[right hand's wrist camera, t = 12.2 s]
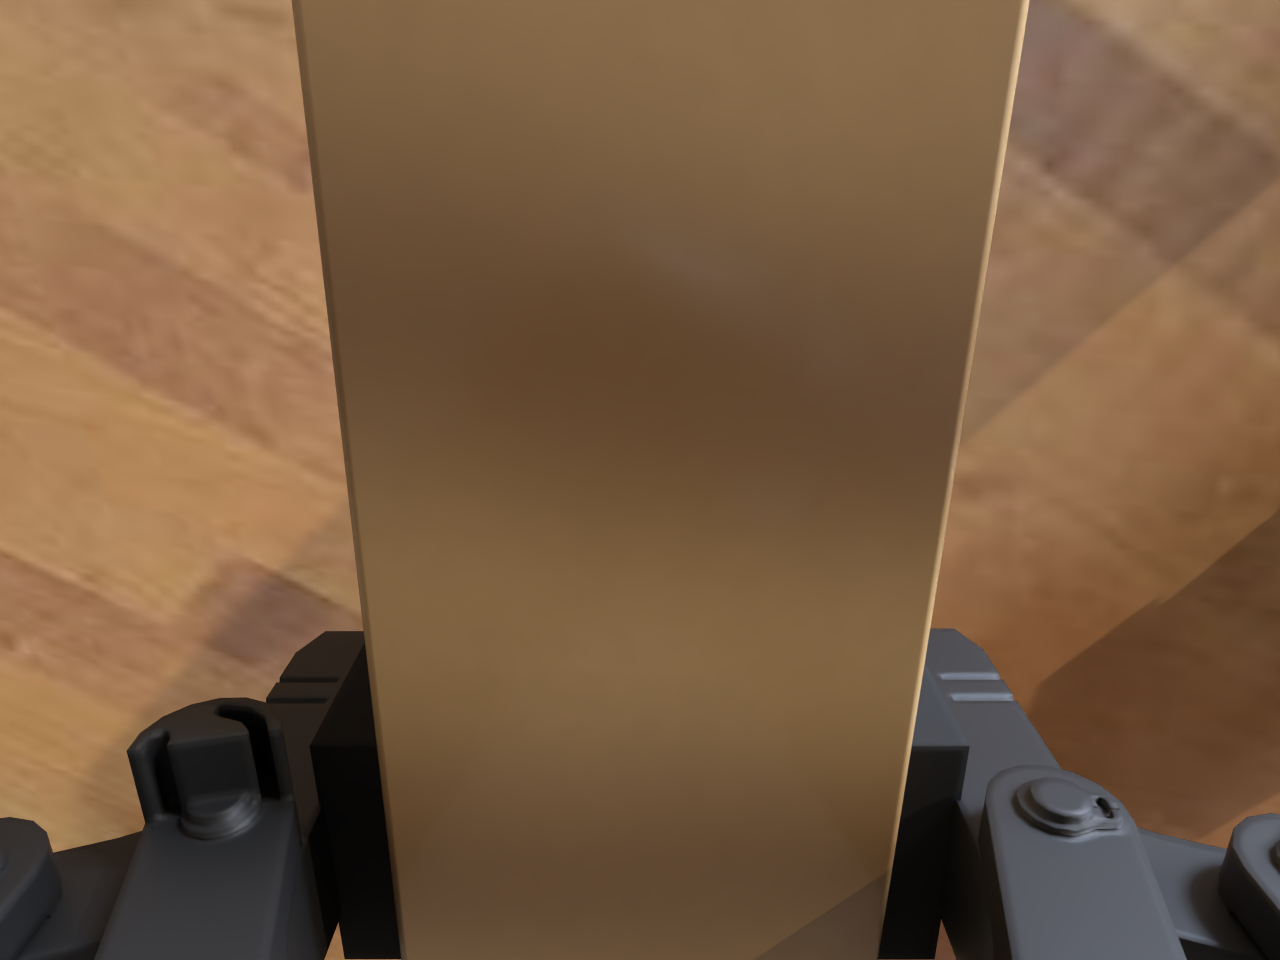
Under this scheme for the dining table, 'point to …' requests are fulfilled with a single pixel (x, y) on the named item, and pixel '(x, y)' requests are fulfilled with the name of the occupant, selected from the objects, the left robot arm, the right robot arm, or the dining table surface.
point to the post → (650, 445)
